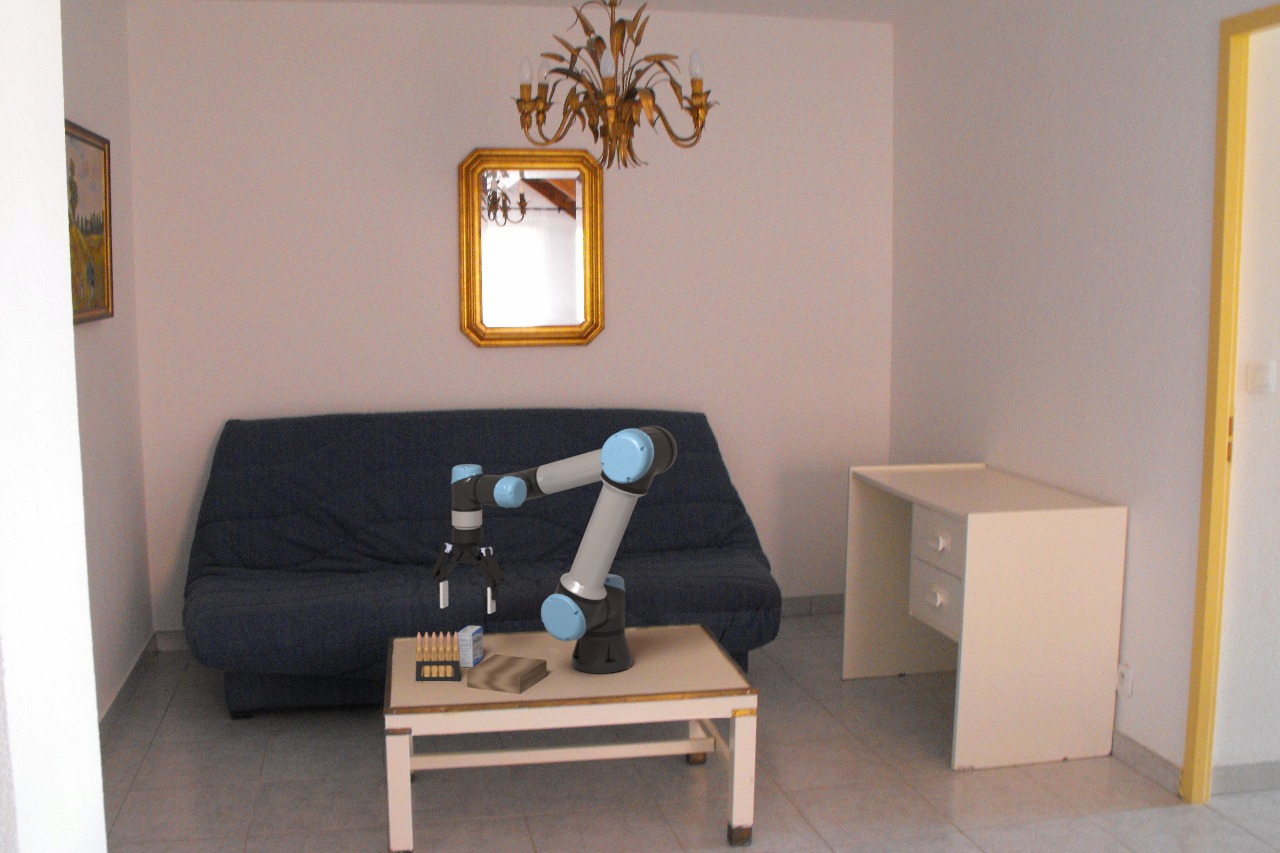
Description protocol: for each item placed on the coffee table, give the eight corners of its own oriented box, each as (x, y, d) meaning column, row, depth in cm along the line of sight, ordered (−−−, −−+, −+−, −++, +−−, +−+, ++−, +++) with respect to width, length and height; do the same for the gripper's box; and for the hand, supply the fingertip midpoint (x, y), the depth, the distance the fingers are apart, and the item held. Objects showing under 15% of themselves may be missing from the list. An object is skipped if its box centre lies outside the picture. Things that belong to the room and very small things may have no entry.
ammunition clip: (461, 678, 271) (460, 630, 270) (460, 681, 269) (459, 632, 268) (416, 679, 270) (415, 630, 269) (415, 682, 269) (414, 633, 268)
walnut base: (546, 676, 273) (546, 660, 272) (520, 693, 260) (519, 676, 259) (495, 670, 278) (495, 654, 277) (467, 686, 265) (466, 670, 264)
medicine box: (472, 668, 279) (472, 634, 279) (455, 667, 280) (455, 633, 279) (483, 659, 287) (482, 625, 286) (466, 658, 288) (466, 624, 287)
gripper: (518, 527, 280) (518, 611, 282) (432, 520, 289) (432, 601, 291) (504, 532, 273) (504, 618, 275) (416, 525, 282) (416, 608, 284)
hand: (467, 609), depth 283 cm, fingers open, 13 cm apart
